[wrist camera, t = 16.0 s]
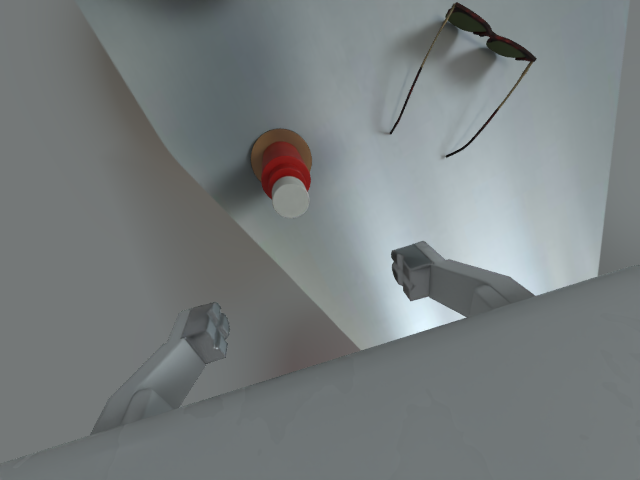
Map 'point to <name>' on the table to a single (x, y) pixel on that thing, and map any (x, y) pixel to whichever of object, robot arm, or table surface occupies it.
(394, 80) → the table surface
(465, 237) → the table surface
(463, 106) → the table surface
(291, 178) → the sauce bottle
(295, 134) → the coaster
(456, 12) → the sunglasses
